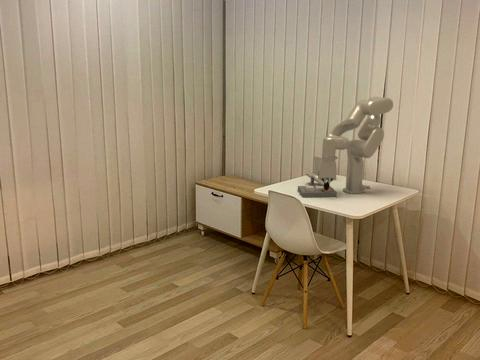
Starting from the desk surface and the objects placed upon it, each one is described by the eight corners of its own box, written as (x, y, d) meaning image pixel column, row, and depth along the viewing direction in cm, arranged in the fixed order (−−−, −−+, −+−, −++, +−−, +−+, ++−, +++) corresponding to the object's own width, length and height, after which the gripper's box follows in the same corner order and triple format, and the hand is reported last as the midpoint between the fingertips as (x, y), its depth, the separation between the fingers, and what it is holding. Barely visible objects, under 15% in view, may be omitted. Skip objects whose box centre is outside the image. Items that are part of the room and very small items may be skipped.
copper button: (329, 193, 279) (329, 188, 279) (331, 195, 275) (331, 190, 274) (322, 193, 279) (322, 188, 278) (323, 195, 275) (324, 190, 274)
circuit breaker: (332, 181, 314) (333, 158, 311) (312, 178, 322) (313, 156, 318) (336, 179, 320) (337, 157, 317) (317, 176, 328) (318, 155, 325)
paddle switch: (314, 185, 287) (314, 176, 285) (315, 187, 282) (316, 177, 281) (308, 185, 286) (308, 176, 285) (309, 187, 282) (310, 177, 281)
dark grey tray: (330, 190, 289) (330, 185, 289) (336, 197, 274) (336, 192, 273) (297, 190, 288) (297, 185, 287) (302, 197, 273) (302, 192, 272)
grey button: (312, 190, 278) (313, 185, 278) (314, 192, 274) (314, 187, 274) (305, 190, 278) (305, 185, 278) (306, 192, 274) (307, 187, 273)
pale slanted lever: (326, 184, 297) (307, 172, 300) (321, 192, 299) (302, 179, 302) (329, 182, 304) (310, 169, 307) (324, 189, 307) (305, 177, 310)
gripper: (339, 157, 276) (337, 188, 280) (314, 157, 275) (312, 187, 279) (342, 160, 269) (340, 191, 273) (316, 159, 268) (315, 191, 272)
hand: (326, 189), depth 276 cm, fingers closed
